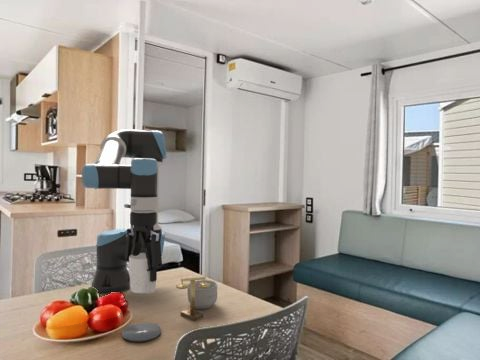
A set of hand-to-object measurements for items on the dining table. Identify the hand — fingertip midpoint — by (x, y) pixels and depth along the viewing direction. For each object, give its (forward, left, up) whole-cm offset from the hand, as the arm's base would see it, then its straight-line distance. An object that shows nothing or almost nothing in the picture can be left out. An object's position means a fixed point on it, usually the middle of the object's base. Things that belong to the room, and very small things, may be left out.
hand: (142, 288), depth 106 cm
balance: (+1, +19, -14) cm, 23 cm away
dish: (0, 0, -14) cm, 14 cm away
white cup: (0, 0, -1) cm, 1 cm away
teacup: (-4, +29, -14) cm, 32 cm away
